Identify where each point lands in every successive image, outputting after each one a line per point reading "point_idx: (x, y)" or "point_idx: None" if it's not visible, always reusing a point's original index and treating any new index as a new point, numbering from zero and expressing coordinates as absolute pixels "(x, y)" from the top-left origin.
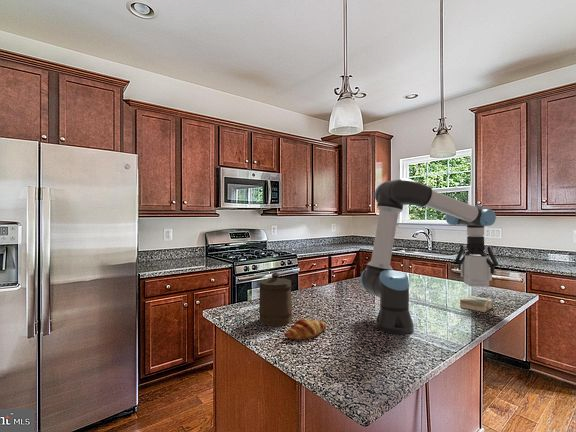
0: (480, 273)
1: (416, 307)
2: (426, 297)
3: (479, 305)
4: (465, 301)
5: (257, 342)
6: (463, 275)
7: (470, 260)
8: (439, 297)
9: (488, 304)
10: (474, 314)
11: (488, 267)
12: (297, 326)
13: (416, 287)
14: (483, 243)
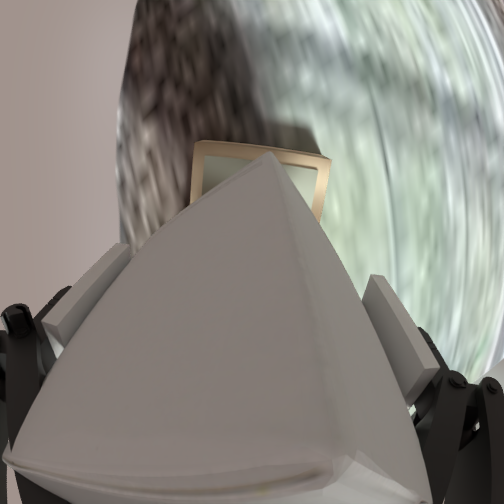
0: (161, 243)
1: (459, 50)
2: (463, 236)
3: (222, 143)
4: (299, 153)
5: None
6: (364, 305)
7: (305, 292)
8: (421, 271)
9: None
10: (232, 69)
11: (56, 323)
12: None
13: (476, 346)
14: None
